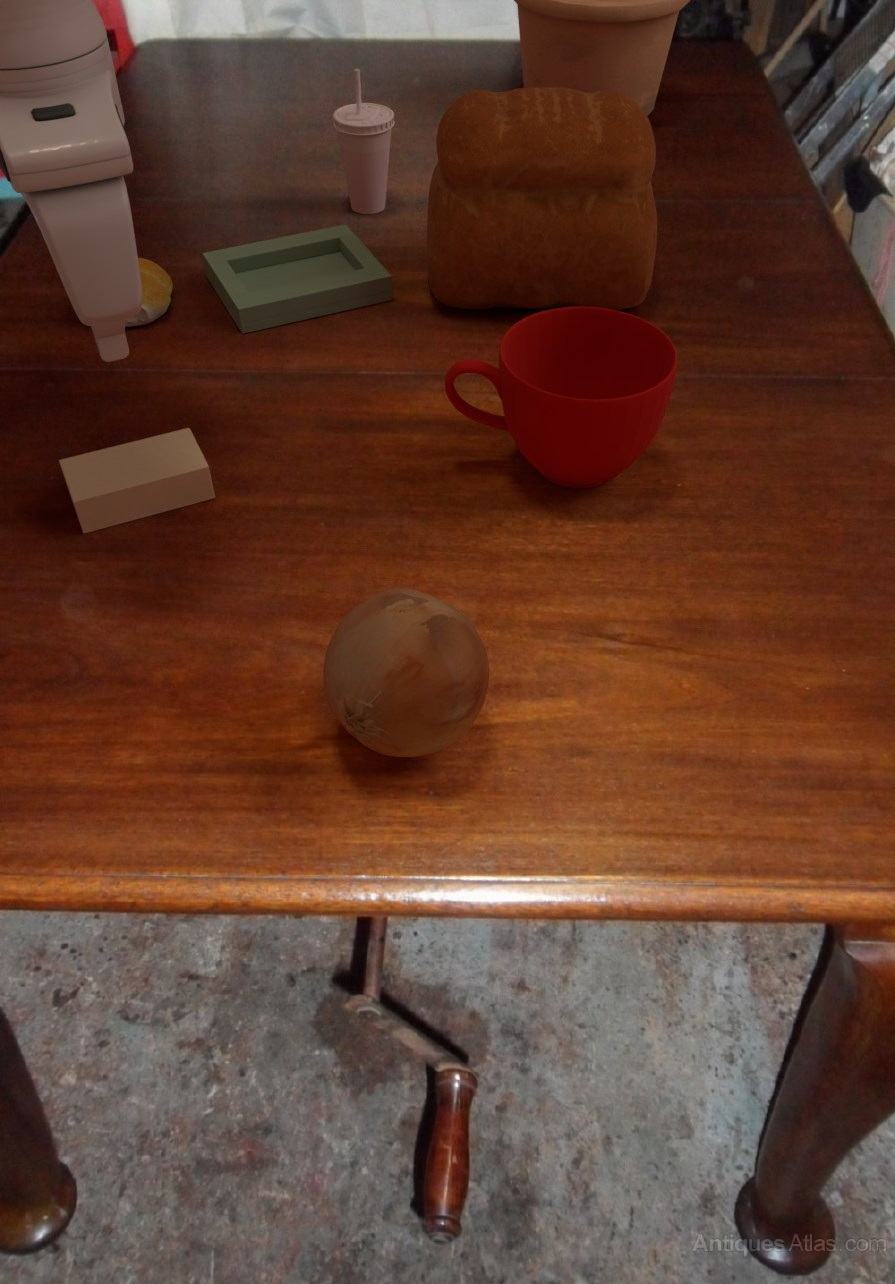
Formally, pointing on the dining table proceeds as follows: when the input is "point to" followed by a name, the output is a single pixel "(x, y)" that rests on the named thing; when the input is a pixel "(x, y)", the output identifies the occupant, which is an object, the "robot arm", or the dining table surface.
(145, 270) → the bread roll
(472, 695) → the mottled brown ball
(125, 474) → the cream pad
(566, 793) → the dining table surface
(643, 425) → the ceramic cup
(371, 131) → the smoothie
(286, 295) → the base pad
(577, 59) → the pottery
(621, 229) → the bread
